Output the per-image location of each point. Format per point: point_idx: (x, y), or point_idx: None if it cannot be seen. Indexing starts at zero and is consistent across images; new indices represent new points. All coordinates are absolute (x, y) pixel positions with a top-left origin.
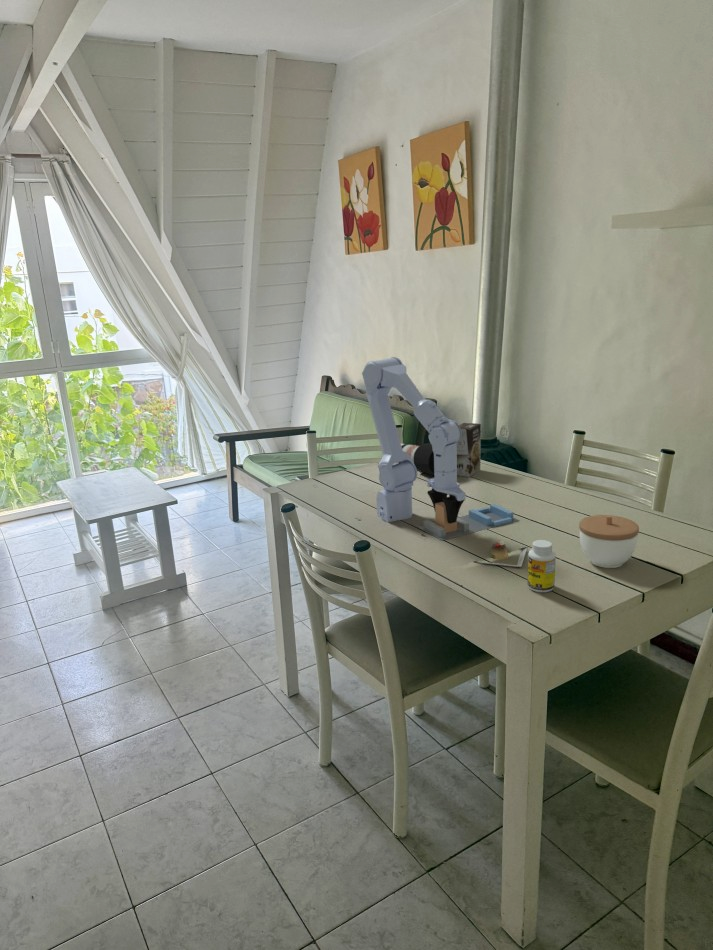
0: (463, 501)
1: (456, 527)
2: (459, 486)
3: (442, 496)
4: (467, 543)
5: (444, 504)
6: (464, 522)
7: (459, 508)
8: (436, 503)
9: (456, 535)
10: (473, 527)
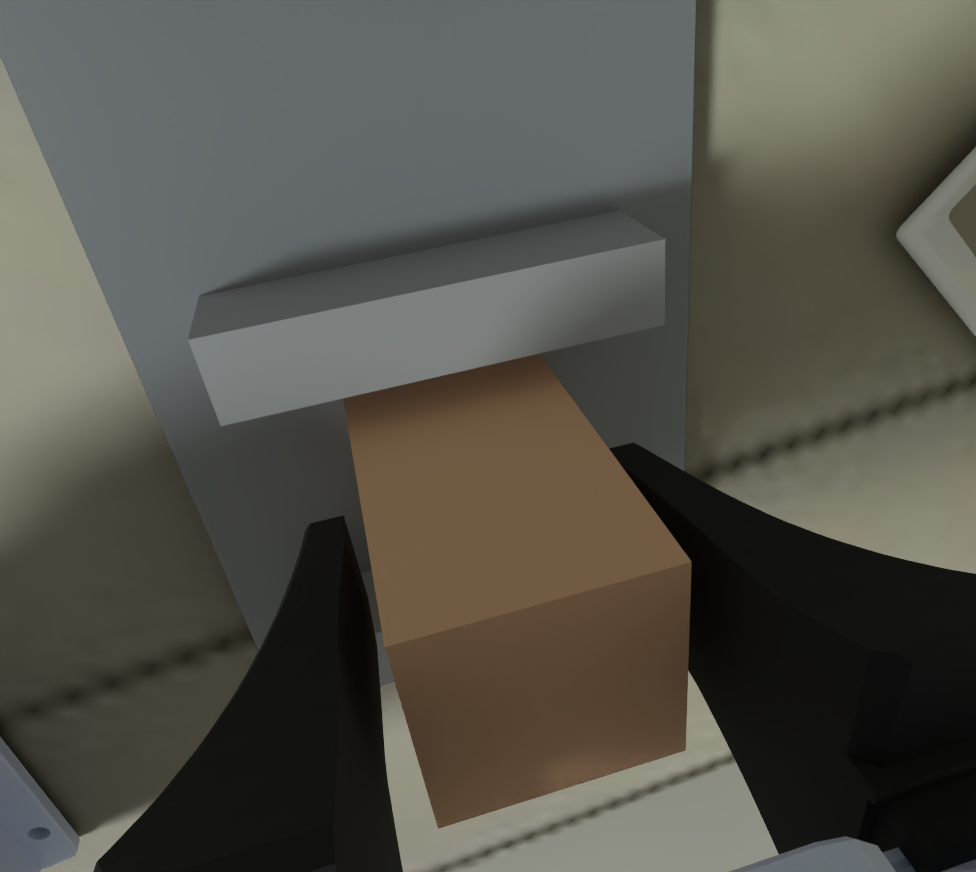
0: (972, 579)
1: (543, 366)
2: (878, 860)
3: (368, 816)
4: (804, 332)
5: (559, 726)
6: (603, 288)
7: (804, 537)
8: (451, 815)
9: (661, 402)
10: (557, 99)
